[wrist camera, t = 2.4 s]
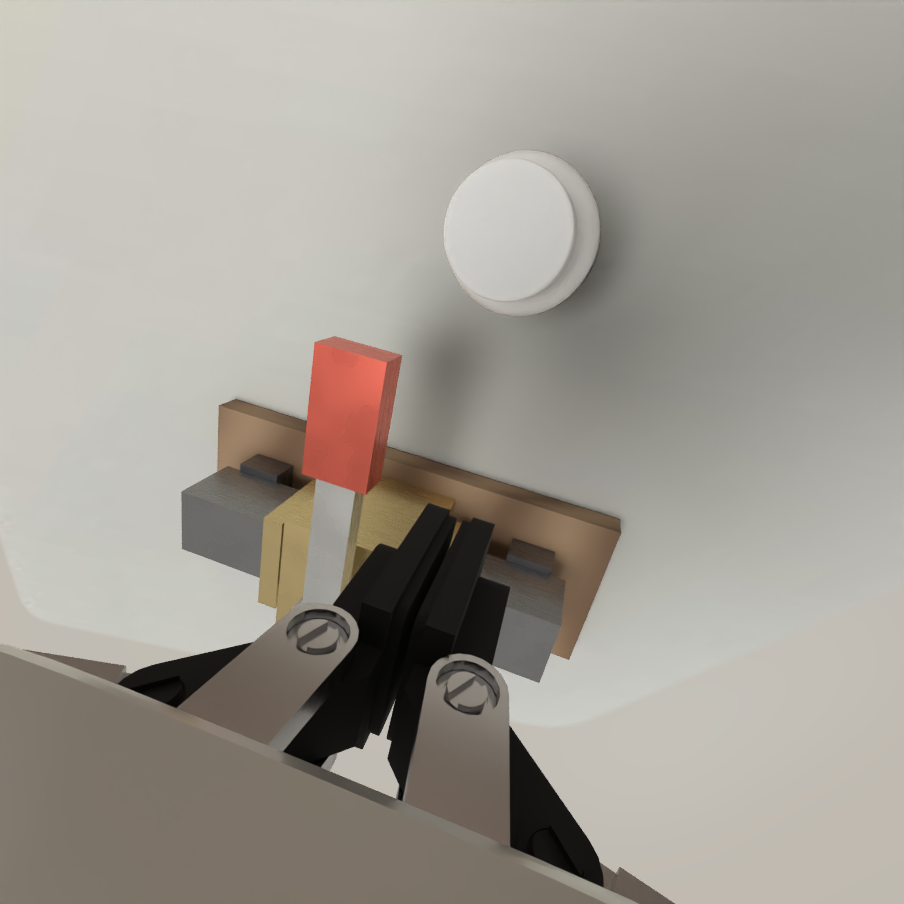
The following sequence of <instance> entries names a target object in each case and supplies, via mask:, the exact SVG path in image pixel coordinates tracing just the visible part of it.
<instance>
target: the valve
mask: <svg viewBox="0 0 904 904" xmlns="http://www.w3.org/2000/svg"><path fill="white" fill-rule="evenodd" d="M293 467H294V465H291V464H288V463H285V462H282V461H279V460H276V459H273V458H270V457H267V456H264V455H261V454H257V455H255V456H253V457H251V458H250V459H248V460H246V461H244V462H243V463H241V464H240V470H238V469H236V468H233V467H230V466H227V467H225V468H223V469H221V470H220V471H218V472H216V473H214V474H212V475H211V476H209V477H207V478H205V479H203V480H202V481H200V482H198V483H196V484H194V485H193V486H191V487H189V488H187V489H185V490H184V491H182V549H184V550H187V551H190V552H192V553H195V554H198V555H200V556H203V557H206V558H208V559H211V560H214V561H216V562H219V563H222V564H224V565H227V566H230V567H232V568H235V569H238V570H240V571H243V572H246V573H248V574H251V575H254V576H256V577H259V578H260V582H259V597H258V602H259V603H262V604H265V605H267V606H270V607H272V608H276V607H277V614H276V623H277V622H278V621H279V620H280V619H281V618H282V617H284V616H285V615H286V614H287V613H288V612H289V611H290V610H291V609H292V608H293V607H294V606H295V604H296V603H297V602H298V601H299V600H300V599H301V598H302V596H303V592H304V583H305V574H306V566H307V557H308V548H309V539H310V530H311V521H312V512H313V503H314V494H315V485H316V478H315V479H314V480H312V481H311V482H310V483H308V484H307V485H306V486H304V487H303V488H302V489H301V490H298V489H295V488H292V478H293ZM455 501H456V499H453V498H450V497H447V496H444V495H441V494H438V493H435V492H432V491H429V490H426V489H423V488H419V487H416V486H413V485H410V484H407V483H404V482H401V481H398V480H395V479H392V478H389V477H386V476H382V475H381V480H380V481H379V482H378V483H377V484H376V485H375V486H374V487H373V488H372V489H371V490H370V491H369V492H368V493H367V494H366V495H364V499H363V505H362V512H361V518H360V524H359V531H358V537H357V543H356V550H355V556H354V562H353V569H352V575H351V579H352V578H353V577H354V575H355V574H356V573H357V571H358V570H359V569H360V567H361V566H362V565H363V563H364V562H365V561H366V559H367V558H368V557H369V555H370V554H371V553H372V551H373V550H374V549H375V547H376V546H377V545H378V544H380V543H382V544H384V545H387V546H390V547H393V548H396V549H398V547H399V546H400V544H401V543H402V541H403V540H404V538H405V537H406V535H407V534H408V532H409V531H410V529H411V528H412V526H413V525H414V523H415V522H416V520H417V519H418V517H419V516H420V514H421V513H422V511H423V510H424V508H425V507H426V506H427V504H428V503H430V504H434V505H437V506H440V507H443V508H446V509H449V510H450V516H452V514H453V509H454V505H455ZM460 525H461V523H459V522H457V523H456V525H455V529H454V533H453V537H452V541H451V544H452V542H453V540H454V538H455V536H456V534H457V532H458V530H459V527H460ZM450 546H451V545H450ZM554 557H555V552H554V551H551V550H548V549H545V548H542V547H539V546H536V545H533V544H530V543H527V542H524V541H521V540H518V539H515V538H513V539H512V542H511V546H510V549H509V552H508V555H507V559H506V560H504V559H501V558H498V557H495V556H492V555H489V554H487V555H486V558H485V562H484V565H483V569H482V572H481V575H480V577H483V578H486V579H489V580H492V581H495V582H498V583H501V584H504V585H507V586H510V592H509V596H508V600H507V605H506V609H505V613H504V618H503V622H502V626H501V630H500V635H499V639H498V643H497V647H496V652H495V656H494V660H493V664H492V665H493V666H496V667H498V668H501V669H504V670H506V671H509V672H512V673H514V674H517V675H519V676H522V677H525V678H527V679H530V680H533V681H535V682H538V683H539V682H540V679H541V677H542V674H543V672H544V669H545V666H546V664H547V661H548V659H549V656H550V653H551V651H552V648H553V646H554V643H555V641H556V638H557V635H558V633H559V630H560V628H561V622H562V612H563V602H564V592H565V583H566V580H563V579H560V578H557V577H554V576H551V573H552V570H553V564H554Z"/></svg>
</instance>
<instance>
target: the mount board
mask: <svg viewBox="0 0 904 904" xmlns="http://www.w3.org/2000/svg"><path fill="white" fill-rule="evenodd" d="M306 426H307V422H306V421H303V420H300V419H297V418H294V417H290V416H287V415H284V414H281V413H278V412H274V411H271V410H268V409H265V408H262V407H258V406H255V405H252V404H249V403H246V402H242V401H239V400H236V399H235V400H232V401H229V402H227V403H224V404H222V405H219V422H218V468H217V472H218V471H220V470H221V469H223V468H225V467H227V466H230V467H233V468H236V469H238V470H240V464H241V463H243V462H244V461H246V460H248V459H250V458H251V457H253V456H255V455H257V454H261V455H264V456H267V457H270V458H273V459H276V460H279V461H282V462H285V463H288V464H291V465H294V467H293V478H292V488H295V489H298V490H301V489H302V488H303V487H304V486H306V485H307V484H308V483H310V482H311V481H312V480H314V479H315V478H313V477H310V476H307V475H303V474H302V466H303V456H304V446H305V436H306ZM382 476H386V477H389V478H392V479H395V480H398V481H401V482H404V483H407V484H410V485H413V486H416V487H419V488H423V489H426V490H429V491H432V492H435V493H438V494H441V495H444V496H447V497H450V498H453V499H456V501H455V505H454V509H453V514H452V517H455V518H457V520H456V523H457V522H459V523H462V521H463V520H464V521H467V522H471V521H472V519H473V517H475V518H478V519H481V520H484V521H487V522H490V523H493V524H495V527H494V530H493V534H492V537H491V541H490V544H489V548H488V551H487V554H489V555H492V556H495V557H498V558H501V559H504V560H506V559H507V555H508V552H509V549H510V546H511V542H512V539H513V538H515V539H518V540H521V541H524V542H527V543H530V544H533V545H536V546H539V547H542V548H545V549H548V550H551V551H554V552H555V557H554V564H553V570H552V573H551V576H554V577H557V578H560V579H563V580H566V583H565V592H564V602H563V612H562V622H561V628H560V630H559V633H558V635H557V638H556V641H555V643H554V646H553V648H552V651H551V653H552V654H555V655H558V656H560V657H563V658H566V659H568V660H569V659H570V656H571V654H572V651H573V649H574V646H575V644H576V641H577V639H578V637H579V634H580V632H581V629H582V627H583V624H584V622H585V619H586V617H587V615H588V612H589V610H590V607H591V605H592V602H593V600H594V598H595V595H596V593H597V590H598V588H599V585H600V583H601V580H602V578H603V576H604V573H605V571H606V568H607V566H608V563H609V561H610V559H611V556H612V554H613V551H614V549H615V546H616V544H617V541H618V539H619V537H620V534H621V528H620V520H619V519H616V518H613V517H610V516H607V515H603V514H600V513H597V512H594V511H591V510H588V509H584V508H581V507H578V506H575V505H572V504H568V503H565V502H562V501H559V500H556V499H552V498H549V497H546V496H543V495H540V494H536V493H533V492H530V491H527V490H524V489H520V488H517V487H514V486H511V485H508V484H504V483H501V482H498V481H495V480H492V479H488V478H485V477H482V476H479V475H476V474H472V473H469V472H466V471H463V470H460V469H456V468H453V467H450V466H447V465H444V464H441V463H437V462H434V461H431V460H428V459H425V458H421V457H418V456H415V455H412V454H409V453H405V452H402V451H399V450H396V449H393V448H389V447H386V452H385V458H384V464H383V469H382Z"/></svg>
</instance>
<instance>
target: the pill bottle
mask: <svg viewBox="0 0 904 904" xmlns="http://www.w3.org/2000/svg"><path fill="white" fill-rule="evenodd" d="M599 244H600V218H599V211H598V207H597V204H596V201H595V198H594V196H593V194H592V192H591V190H590V188H589V186H588V185H587V183H586V182H585V180H584V179H583V178H582V177H581V175H580V174H579V173H578V172H577V171H576V170H575V169H574V168H573V167H572V166H571V165H569V164H568V163H567V162H565V161H564V160H562V159H561V158H559V157H557V156H555V155H552V154H549V153H546V152H542V151H535V150H519V151H513V152H508V153H505V154H503V155H500V156H497V157H495V158H493V159H491V160H489V161H488V162H486V163H485V164H483V165H482V166H480V167H479V168H478V169H476V170H475V171H474V172H472V173H471V174H470V175H469V176H468V177H467V178H466V179H465V180H464V181H463V182H462V183H461V185H460V186H459V187H458V189H457V190H456V192H455V194H454V195H453V197H452V199H451V202H450V204H449V206H448V209H447V213H446V216H445V222H444V246H445V251H446V255H447V258H448V261H449V264H450V266H451V268H452V271H453V273H454V275H455V277H456V279H457V281H458V282H459V284H460V285H461V287H462V288H463V289H464V290H465V291H466V293H467V294H468V295H469V296H470V297H471V298H472V299H473V300H474V301H476V302H477V303H478V304H480V305H481V306H483V307H485V308H486V309H488V310H491V311H493V312H496V313H499V314H503V315H508V316H529V315H534V314H539V313H542V312H544V311H547V310H549V309H551V308H553V307H555V306H557V305H559V304H560V303H562V302H563V301H565V300H566V299H567V298H568V297H569V296H570V295H571V294H573V293H574V291H575V290H576V289H577V288H578V287H579V286H580V285H581V284H582V282H583V281H584V280H585V279H586V277H587V276H588V274H589V272H590V271H591V269H592V267H593V265H594V262H595V260H596V257H597V253H598V248H599Z"/></svg>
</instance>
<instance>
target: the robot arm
mask: <svg viewBox="0 0 904 904" xmlns="http://www.w3.org/2000/svg"><path fill="white" fill-rule="evenodd" d="M456 520H457V518H455V517H452V516H450V510H449V509H446V508H443V507H440V506H437V505H434V504H430V503H428V504H427V506H426V507H425V508H424V510H423V511H422V513H421V514H420V516H419V517H418V519H417V520H416V522H415V523H414V525H413V526H412V528H411V529H410V531H409V532H408V534H407V535H406V537H405V538H404V540H403V541H402V543H401V544H400V546H399V547H398V549H396V548H393V547H390V546H387V545H384V544H382V543H380V544H378V545H377V546H376V547H375V549H374V550H373V551H372V553H371V554H370V555H369V557H368V558H367V559H366V561H365V562H364V563H363V565H362V566H361V567H360V569H359V570H358V571H357V573H356V574H355V575H354V577H353V578H352V579H351V581H350V582H349V583H348V585H347V586H346V587H345V589H344V590H343V591H342V593H341V594H340V595H339V597H338V598H337V599H336V601H335V602H334V603H333V605H330V604H322V603H316V604H307V605H304V606H301V607H298V608H295V609H294V610H292V611H291V612H289V613H287V614H286V615H285V616H284V617H282V618H281V619H280V620H279V621H278V622H277V623H275V624H274V625H273V626H272V627H271V628H270V629H268V630H267V631H266V632H265V633H264V634H263V635H261V636H260V637H259V638H258V639H257V640H256V641H254V642H252V643H247V644H243V645H238V646H234V647H230V648H225V649H221V650H216V651H212V652H208V653H203V654H199V655H194V656H190V657H186V658H181V659H177V660H172V661H168V662H164V663H159V664H155V665H151V666H149V667H146V668H142V669H140V670H138V671H135V672H134V673H132V674H130V673H126V666H124V665H118V664H111V663H104V662H98V661H92V660H86V659H80V658H73V657H67V656H61V655H54V654H48V653H42V652H35V651H29V650H23V649H19V648H16V647H13V646H9V645H5V644H1V643H0V904H675V903H673V902H672V901H670V900H668V899H667V898H666V897H664V896H663V895H661V894H660V893H658V892H657V891H655V890H654V889H652V888H651V887H649V886H648V885H646V884H645V883H643V882H642V881H640V880H639V879H637V878H636V877H634V876H633V875H631V874H630V873H628V872H627V871H625V870H624V869H622V868H621V867H619V869H618V871H617V872H616V873H615V872H613V871H612V870H610V869H609V868H607V867H606V866H604V865H603V864H601V863H600V862H599V858H598V856H597V854H596V852H595V850H594V848H593V847H592V845H591V843H590V841H589V840H588V838H587V836H586V835H585V834H584V832H583V831H582V829H581V828H580V826H579V825H578V824H577V822H576V821H575V819H574V818H573V816H572V815H571V813H570V812H569V811H568V809H567V808H566V806H565V805H564V803H563V802H562V801H561V799H560V798H559V796H558V795H557V793H556V792H555V790H554V789H553V788H552V786H551V785H550V783H549V782H548V780H547V779H546V778H545V776H544V774H543V773H542V772H541V770H540V769H539V767H538V766H537V764H536V763H535V762H534V760H533V759H532V757H531V756H530V754H529V753H528V752H527V750H526V748H525V747H524V746H523V744H522V743H521V741H520V740H519V738H518V737H517V735H516V734H515V733H514V731H513V730H512V728H511V727H510V726H509V693H508V688H507V684H506V683H505V681H504V679H503V677H502V675H501V674H500V673H499V672H498V671H497V670H496V669H495V668H494V667H493V666H492V664H493V660H494V656H495V652H496V647H497V643H498V639H499V635H500V630H501V626H502V622H503V618H504V613H505V609H506V605H507V600H508V596H509V592H510V586H507V585H504V584H501V583H498V582H495V581H492V580H489V579H486V578H483V577H480V575H481V572H482V569H483V565H484V562H485V558H486V555H487V551H488V548H489V544H490V541H491V537H492V534H493V530H494V527H495V524H493V523H490V522H487V521H484V520H481V519H478V518H475V517H473V519H472V521H471V522H467V521H464V520H463V521H462V523H461V525H460V527H459V530H458V532H457V534H456V536H455V538H454V540H453V542H452V544H451V541H452V537H453V533H454V529H455V525H456ZM450 545H451V546H450ZM395 699H396V700H395ZM394 701H395V704H394ZM393 704H394V708H393V713H392V717H391V721H390V725H389V730H388V734H387V739H388V740H391V741H392V742H391V746H390V750H389V754H388V761H389V763H390V766H391V768H392V770H393V772H394V774H395V777H396V779H397V781H398V783H399V787H398V791H397V795H396V799H395V798H393V797H390V796H388V795H385V794H383V793H381V792H378V791H376V790H373V789H371V788H368V787H366V786H364V785H361V784H359V783H357V782H354V781H351V780H349V779H347V778H344V777H342V776H340V775H337V774H335V773H332V772H330V769H331V768H332V765H333V764H334V762H335V760H336V756H337V753H338V752H341V751H344V750H346V749H349V748H352V747H357V748H360V749H363V747H364V745H365V743H366V741H367V738H368V736H369V734H370V733H373V734H375V735H378V736H379V735H380V733H381V731H382V729H383V726H384V724H385V722H386V720H387V717H388V715H389V713H390V710H391V708H392V706H393Z"/></svg>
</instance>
